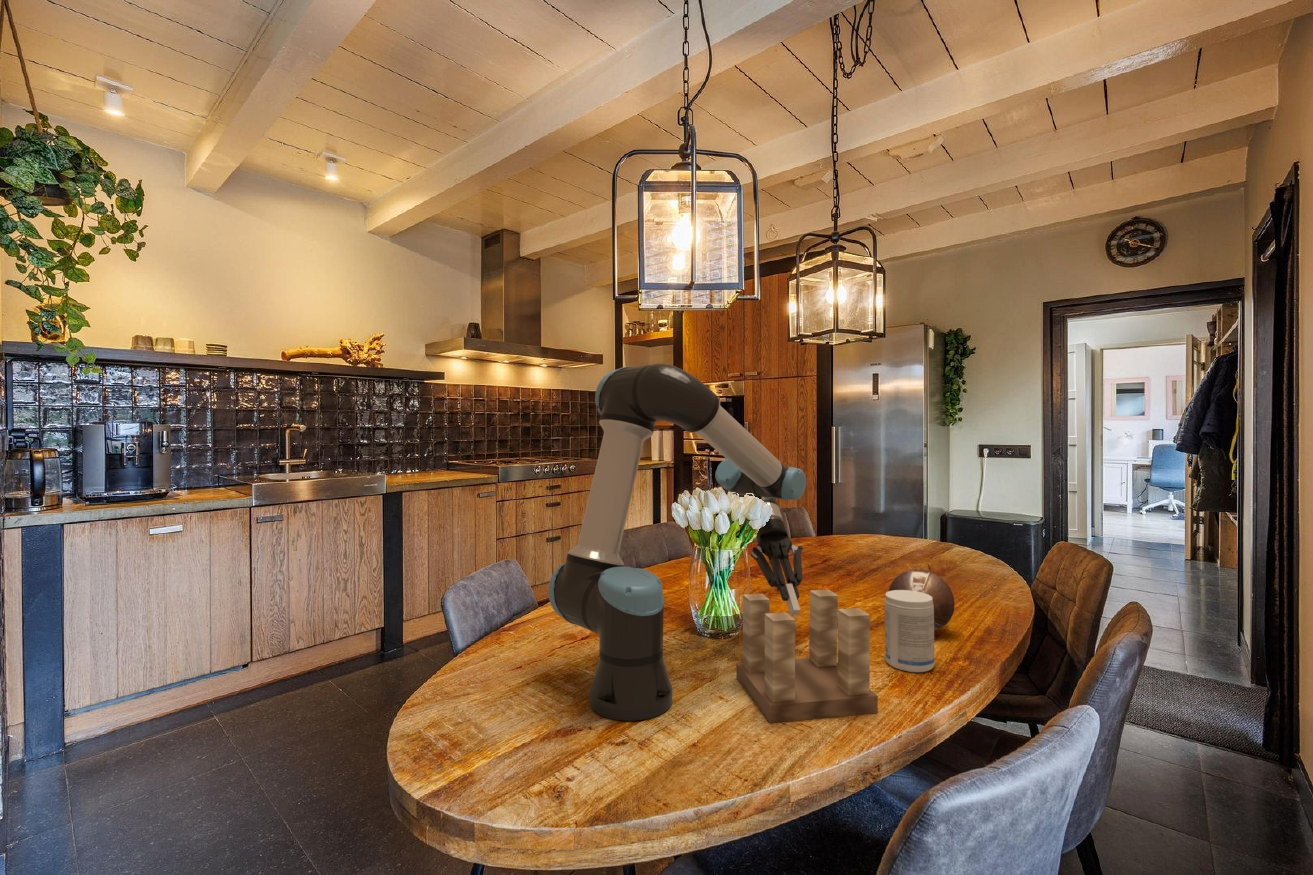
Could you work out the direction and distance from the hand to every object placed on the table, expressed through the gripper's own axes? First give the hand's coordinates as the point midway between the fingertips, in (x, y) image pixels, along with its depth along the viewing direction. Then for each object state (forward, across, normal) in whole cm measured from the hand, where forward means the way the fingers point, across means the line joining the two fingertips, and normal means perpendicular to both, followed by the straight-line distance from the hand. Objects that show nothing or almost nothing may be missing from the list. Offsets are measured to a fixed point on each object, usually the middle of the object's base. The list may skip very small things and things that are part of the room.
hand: (795, 612), depth 130 cm
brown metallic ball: (+1, -36, -12) cm, 38 cm away
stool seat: (+20, +7, +8) cm, 23 cm away
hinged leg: (+13, 0, +6) cm, 15 cm away
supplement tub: (+14, -21, +1) cm, 25 cm away
